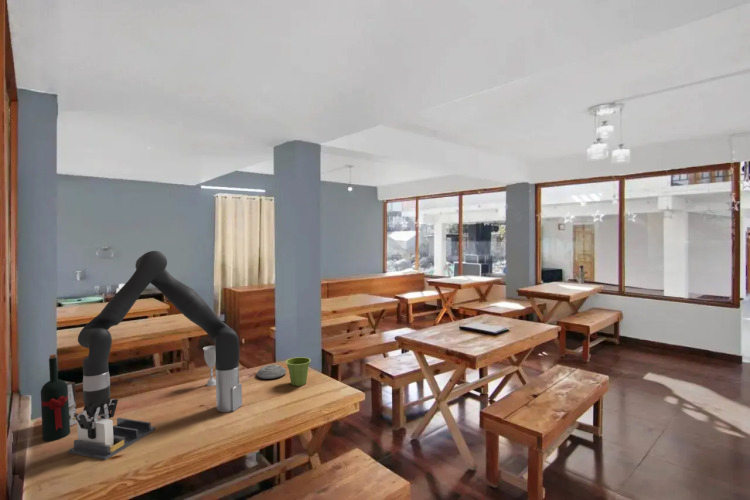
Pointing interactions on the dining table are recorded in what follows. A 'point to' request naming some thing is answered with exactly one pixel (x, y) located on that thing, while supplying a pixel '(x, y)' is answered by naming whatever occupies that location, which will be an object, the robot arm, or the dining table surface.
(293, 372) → the plant pot
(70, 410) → the coffee box
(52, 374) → the wine bottle
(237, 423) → the dining table surface
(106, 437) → the panel
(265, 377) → the grey stone
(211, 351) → the chalice
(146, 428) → the rack
